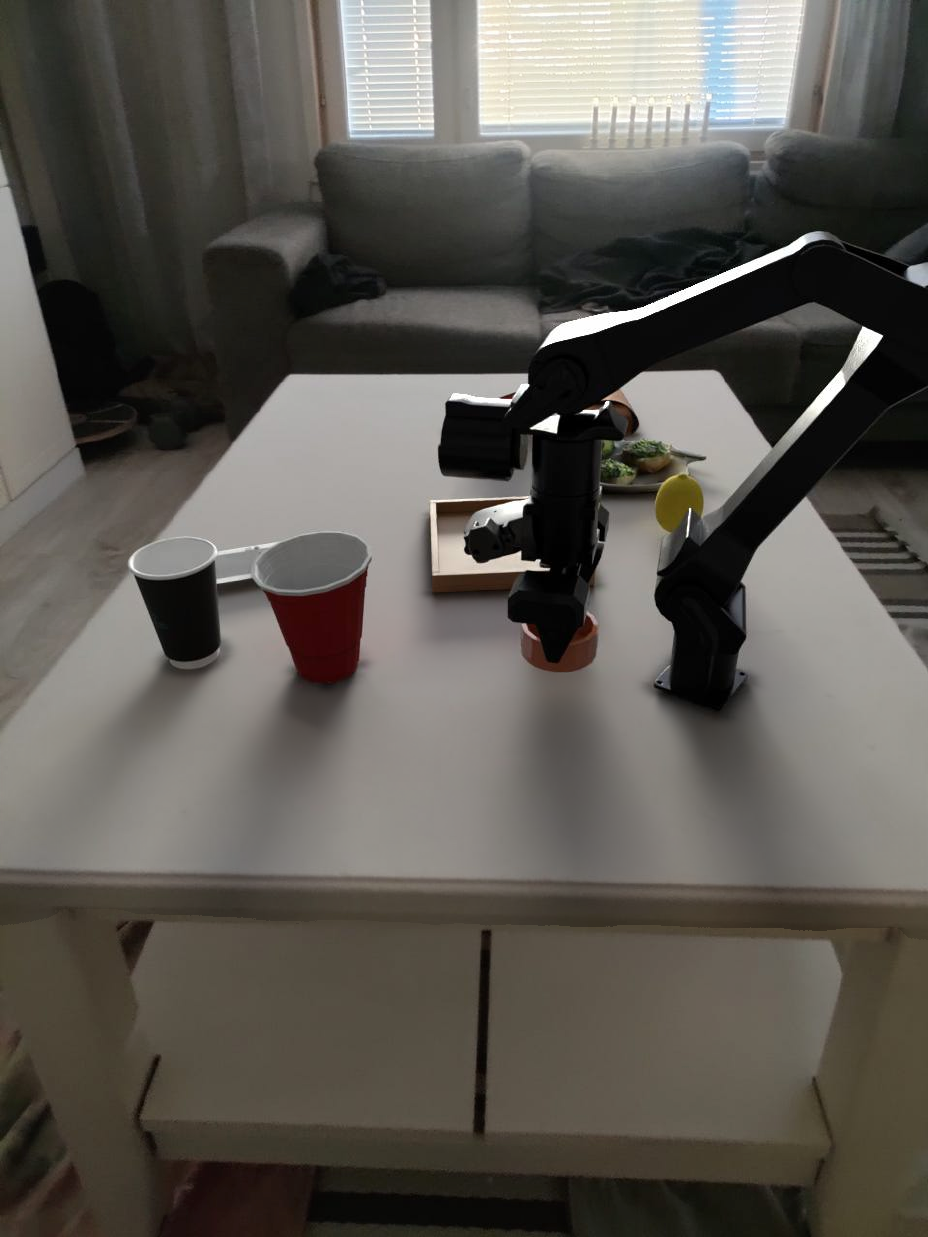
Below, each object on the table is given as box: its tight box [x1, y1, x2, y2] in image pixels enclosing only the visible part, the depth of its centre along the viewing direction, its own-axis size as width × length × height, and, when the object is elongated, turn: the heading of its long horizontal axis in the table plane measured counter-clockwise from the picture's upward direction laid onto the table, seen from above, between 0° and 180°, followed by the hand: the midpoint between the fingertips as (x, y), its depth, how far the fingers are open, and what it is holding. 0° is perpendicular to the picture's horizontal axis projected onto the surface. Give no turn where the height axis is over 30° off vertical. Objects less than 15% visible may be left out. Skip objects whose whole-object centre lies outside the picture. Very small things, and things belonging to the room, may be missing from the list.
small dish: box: [520, 611, 600, 673], centre depth 82 cm, size 7×7×3 cm
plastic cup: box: [251, 530, 373, 685], centre depth 81 cm, size 11×11×12 cm
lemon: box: [654, 473, 705, 534], centre depth 104 cm, size 6×6×8 cm
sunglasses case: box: [586, 388, 640, 436], centre depth 142 cm, size 18×7×7 cm
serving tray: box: [428, 495, 596, 593], centre depth 104 cm, size 20×18×2 cm
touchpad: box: [215, 541, 279, 585], centre depth 101 cm, size 8×15×2 cm, turn 108°
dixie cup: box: [127, 536, 222, 670], centre depth 84 cm, size 8×8×11 cm
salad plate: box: [600, 437, 707, 494], centre depth 122 cm, size 19×18×5 cm
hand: (559, 639), depth 82 cm, fingers closed on small dish, 7 cm apart
